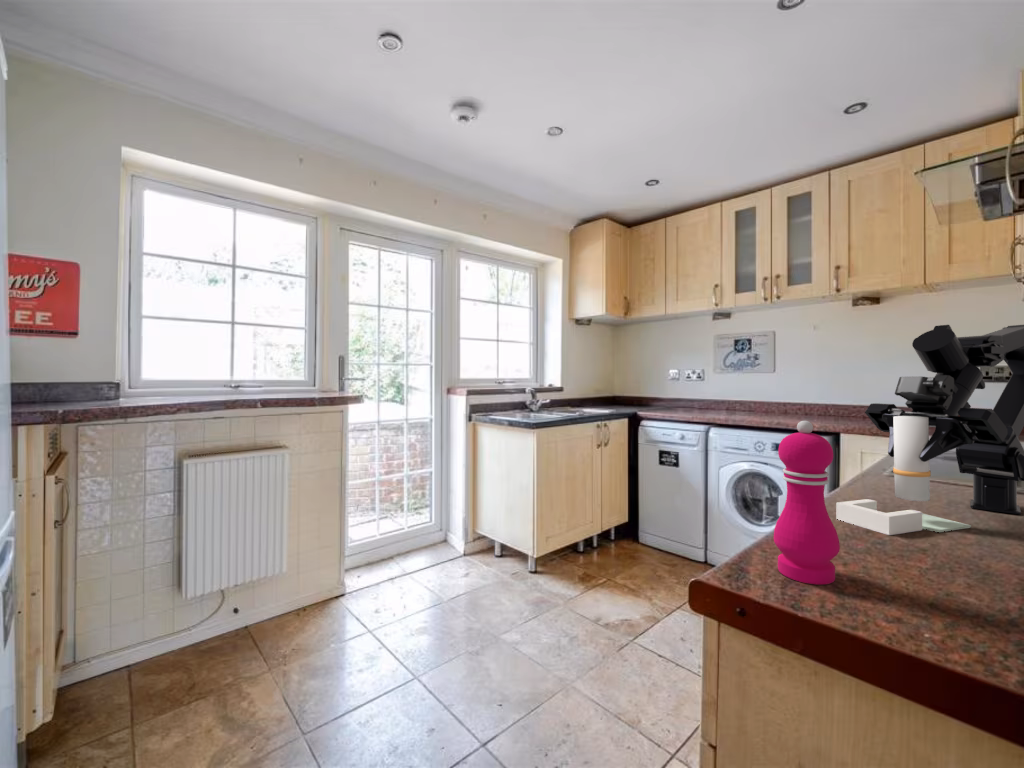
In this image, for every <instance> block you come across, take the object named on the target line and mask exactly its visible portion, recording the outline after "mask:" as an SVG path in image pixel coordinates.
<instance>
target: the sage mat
mask: <svg viewBox="0 0 1024 768" xmlns="http://www.w3.org/2000/svg"><path fill="white" fill-rule="evenodd" d="M971 527H972V525H971V524H967V523H963V522H960V521H959V522H958V521H955V520H951V519H947V518H943V517H939V516H935V515H930V514H927V513H923V512H922V530H926V529H927V530H926V531H930V532H933V531H935V532H934V533H937V532H939V533H944V531H945V532H949V531H951V530H952V531H956V530H963V529H969V528H971Z"/></svg>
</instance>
